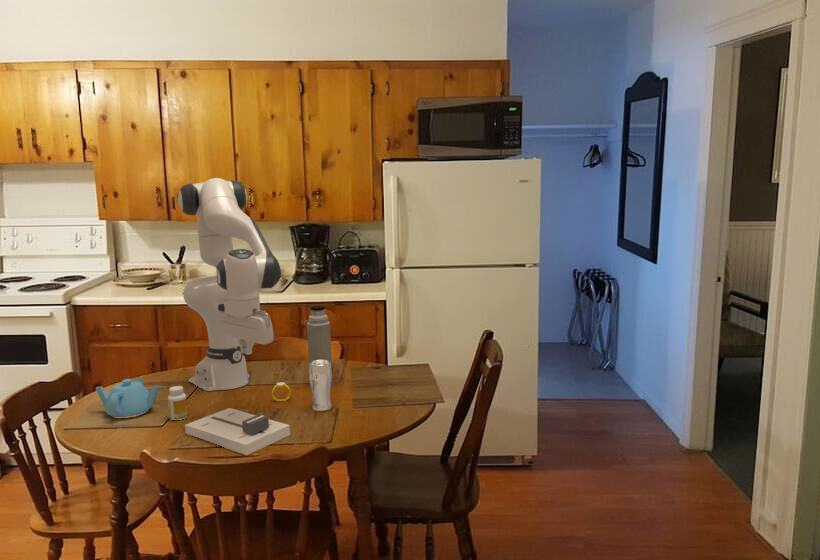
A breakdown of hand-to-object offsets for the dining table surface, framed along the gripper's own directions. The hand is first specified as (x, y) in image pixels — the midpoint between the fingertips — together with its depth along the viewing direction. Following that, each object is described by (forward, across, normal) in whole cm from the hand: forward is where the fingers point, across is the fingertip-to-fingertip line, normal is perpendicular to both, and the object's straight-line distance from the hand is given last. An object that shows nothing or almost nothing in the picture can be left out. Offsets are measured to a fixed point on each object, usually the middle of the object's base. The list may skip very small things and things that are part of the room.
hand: (246, 353), depth 192 cm
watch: (+24, +9, -21) cm, 33 cm away
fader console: (+23, -1, +6) cm, 23 cm away
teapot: (+24, +43, +12) cm, 51 cm away
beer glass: (+23, -7, -23) cm, 33 cm away
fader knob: (+19, -9, +6) cm, 22 cm away
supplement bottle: (+24, +25, +7) cm, 35 cm away
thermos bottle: (+24, +9, -40) cm, 48 cm away
